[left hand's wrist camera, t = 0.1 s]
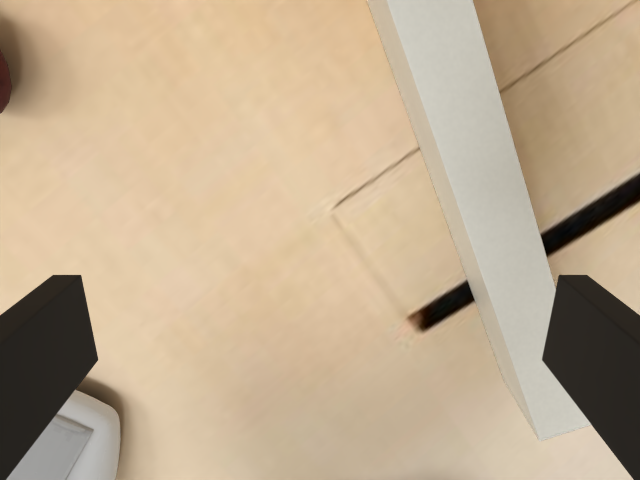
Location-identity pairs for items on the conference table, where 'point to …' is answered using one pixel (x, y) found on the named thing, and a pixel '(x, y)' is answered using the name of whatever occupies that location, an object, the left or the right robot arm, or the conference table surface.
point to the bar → (479, 191)
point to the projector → (75, 444)
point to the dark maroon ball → (4, 83)
